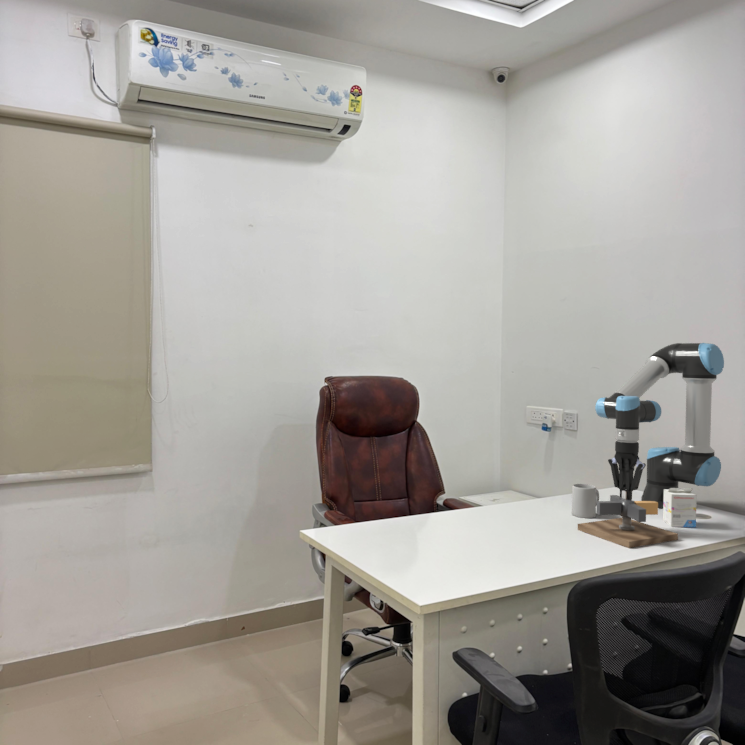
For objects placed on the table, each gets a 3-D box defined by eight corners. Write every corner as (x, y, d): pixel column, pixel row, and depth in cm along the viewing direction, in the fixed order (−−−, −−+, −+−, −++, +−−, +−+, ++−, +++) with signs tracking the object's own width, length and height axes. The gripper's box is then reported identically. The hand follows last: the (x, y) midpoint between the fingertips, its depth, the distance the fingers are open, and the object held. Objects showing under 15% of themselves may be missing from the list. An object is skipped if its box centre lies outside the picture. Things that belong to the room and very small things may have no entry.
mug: (584, 519, 231) (585, 489, 231) (566, 514, 238) (567, 484, 238) (607, 515, 237) (607, 486, 237) (588, 510, 244) (589, 482, 244)
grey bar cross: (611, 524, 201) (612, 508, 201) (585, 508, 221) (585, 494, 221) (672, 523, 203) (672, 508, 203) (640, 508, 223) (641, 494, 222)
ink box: (686, 521, 230) (688, 484, 229) (696, 528, 222) (697, 489, 221) (662, 520, 231) (663, 484, 230) (670, 527, 222) (671, 489, 222)
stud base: (624, 522, 227) (624, 506, 227) (677, 539, 207) (678, 521, 207) (577, 529, 217) (577, 512, 217) (629, 548, 197) (629, 528, 197)
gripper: (603, 439, 221) (602, 507, 221) (638, 444, 210) (637, 514, 211) (616, 438, 225) (614, 504, 226) (650, 442, 215) (649, 511, 215)
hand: (625, 509), depth 218 cm, fingers closed
